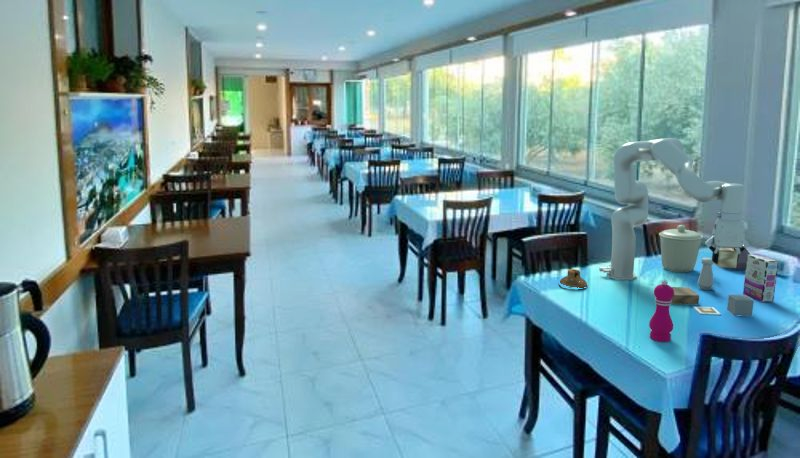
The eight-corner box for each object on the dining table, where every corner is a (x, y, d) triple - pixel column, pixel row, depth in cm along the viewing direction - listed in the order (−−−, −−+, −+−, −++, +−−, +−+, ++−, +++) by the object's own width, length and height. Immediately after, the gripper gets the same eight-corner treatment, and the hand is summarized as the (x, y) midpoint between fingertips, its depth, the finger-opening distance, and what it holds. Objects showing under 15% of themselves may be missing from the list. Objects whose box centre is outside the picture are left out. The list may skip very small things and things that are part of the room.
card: (700, 314, 205) (700, 312, 205) (693, 307, 212) (693, 306, 212) (720, 314, 204) (720, 313, 204) (713, 308, 211) (713, 306, 210)
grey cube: (733, 315, 203) (735, 299, 202) (727, 309, 209) (728, 294, 208) (751, 316, 202) (753, 300, 201) (744, 310, 208) (746, 295, 207)
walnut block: (671, 304, 216) (672, 295, 215) (661, 296, 226) (662, 286, 225) (698, 305, 215) (699, 295, 214) (687, 296, 225) (688, 287, 224)
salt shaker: (714, 291, 230) (717, 260, 227) (699, 290, 231) (702, 260, 228) (710, 286, 235) (713, 256, 232) (695, 286, 236) (698, 256, 234)
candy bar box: (774, 302, 216) (779, 261, 212) (762, 302, 215) (767, 261, 212) (754, 292, 227) (758, 253, 223) (742, 293, 226) (746, 254, 223)
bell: (573, 280, 248) (573, 264, 246) (593, 288, 237) (594, 271, 235) (552, 284, 243) (553, 268, 241) (571, 292, 232) (572, 275, 231)
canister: (707, 274, 251) (712, 228, 247) (666, 275, 252) (670, 229, 247) (687, 263, 269) (691, 220, 264) (649, 264, 269) (653, 221, 265)
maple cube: (718, 267, 211) (720, 251, 210) (712, 262, 217) (714, 247, 216) (736, 267, 210) (738, 252, 209) (729, 263, 216) (731, 248, 215)
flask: (707, 263, 269) (711, 222, 265) (739, 261, 271) (743, 221, 267) (730, 273, 253) (735, 229, 249) (764, 271, 255) (769, 228, 251)
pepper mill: (650, 332, 190) (655, 275, 186) (674, 336, 186) (679, 279, 182) (646, 339, 184) (650, 281, 180) (670, 344, 180) (675, 284, 176)
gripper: (709, 218, 207) (703, 265, 211) (760, 219, 205) (753, 266, 209) (701, 214, 214) (696, 259, 218) (750, 215, 212) (744, 261, 216)
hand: (724, 262), depth 213 cm, fingers closed on maple cube, 6 cm apart
